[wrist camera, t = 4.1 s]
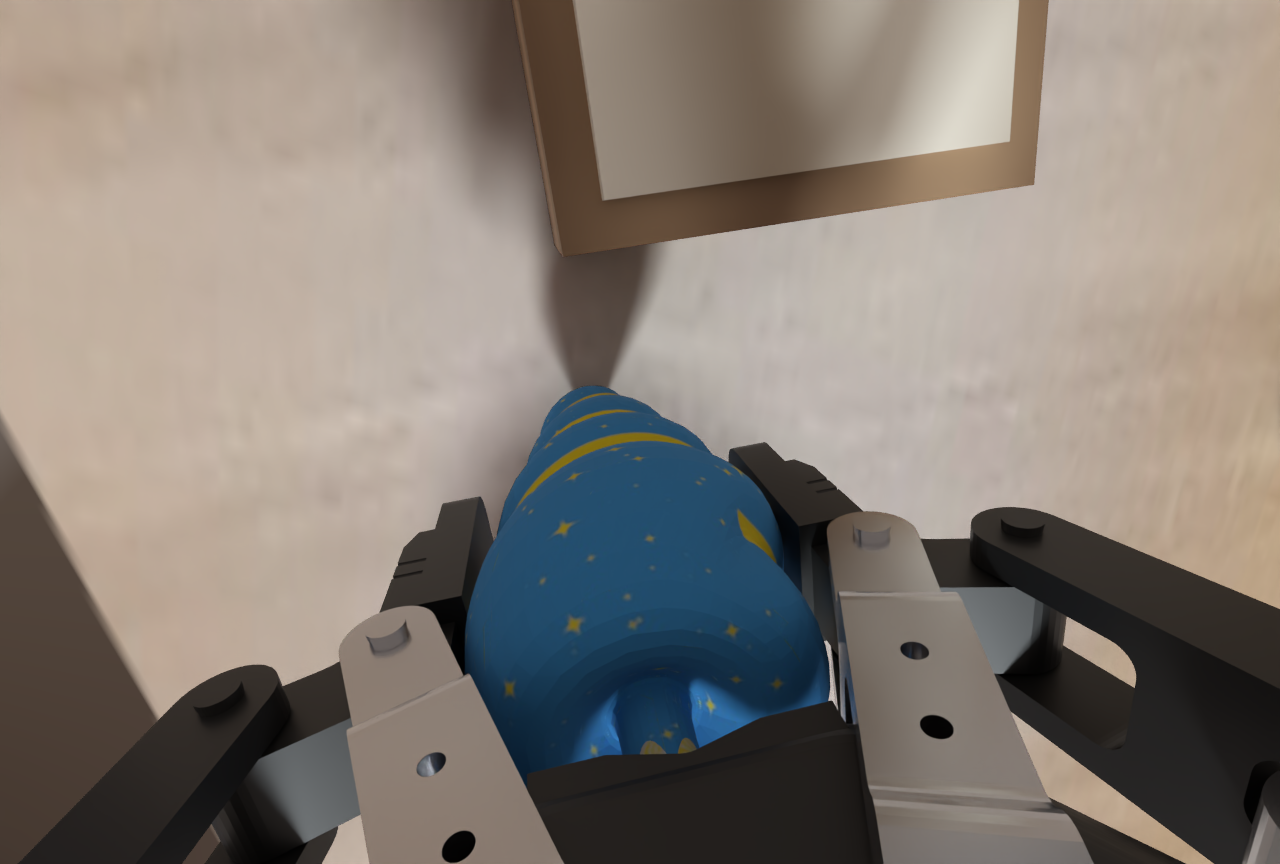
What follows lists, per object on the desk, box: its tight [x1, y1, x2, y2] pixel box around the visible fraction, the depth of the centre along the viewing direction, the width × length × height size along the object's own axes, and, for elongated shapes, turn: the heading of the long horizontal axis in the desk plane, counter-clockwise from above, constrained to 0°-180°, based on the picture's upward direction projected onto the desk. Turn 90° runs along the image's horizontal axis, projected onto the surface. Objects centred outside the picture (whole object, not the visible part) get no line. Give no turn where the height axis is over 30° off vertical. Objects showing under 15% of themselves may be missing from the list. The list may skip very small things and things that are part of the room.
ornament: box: [465, 386, 830, 789], centre depth 13 cm, size 5×5×15 cm
